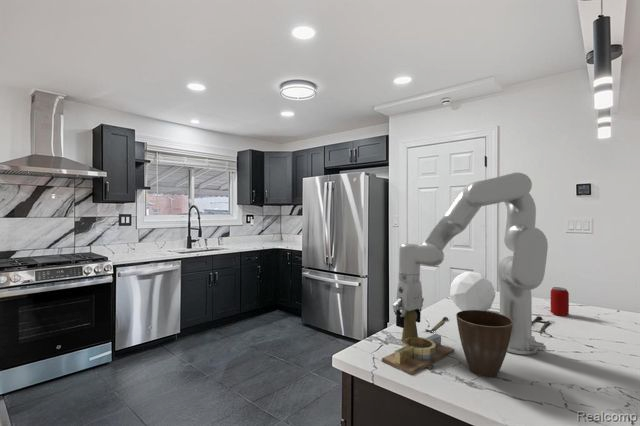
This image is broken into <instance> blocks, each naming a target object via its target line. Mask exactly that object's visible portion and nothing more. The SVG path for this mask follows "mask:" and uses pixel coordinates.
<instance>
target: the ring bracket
mask: <svg viewBox="0 0 640 426" xmlns="http://www.w3.org/2000/svg"><path fill="white" fill-rule="evenodd" d="M441 345H442V335H441V334H438V333H437V334H434V333H433V334H432V335H429V336H427V337H419V336H418V337H409V338H406V339H404V341H402V348H399V349H396V350H394V353H395V363H397V364H399V365H401V364H403V363H405V362H407V361H409V360H411V359H415V360H421V361H422V360H423V361H425V360H432V359H434V358H435V355H436V348H437V347H439V346H441Z"/></svg>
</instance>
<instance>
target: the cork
mask: <svg viewBox="0 0 640 426" xmlns="http://www.w3.org/2000/svg"><path fill="white" fill-rule="evenodd" d="M403 317H404V328H402V335H401V341H402V342H403V341H404V339H406V338H409V337H419V334H418V327H417V322H416V319H417V313H416V312H415V311H413V310H412V311H405V313H404V315H403Z"/></svg>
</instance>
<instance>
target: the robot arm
mask: <svg viewBox="0 0 640 426" xmlns="http://www.w3.org/2000/svg"><path fill="white" fill-rule="evenodd" d="M532 183H533V182H532V180H531V178H530V177H529V176H528V175H527V174H525V173H523V172H512V173H508V174H505V175H500V176H496V177H492V178H488V179H482V180H478V181H477V180H476V181H473V182H470V183H468V184H466V185H465V186H464V188H462V189H461V191H460V192H459V194H458V195H457V196H456V198H455V200H454V201H453V202H452V204H451V205H450V207H449V208H448V210H447V211H446V212H445V214H443V216H442V217H441V219H440V220H439V221H438V223H437V224H436V225H435V227H434V228H433V229H432V230H431V231H430V232H429V234H428V235H427V237H426V238H425V239H424V240H423V242H422V244H420V245H418V244H416V243H402V244H400V246H399V254H398V255H399V256H398V261H399V262H398V283H397V290H396V301H395V302H394V303H393V304H392V309H393V312H394V315H395V317H396V318H395V326H396V327H398V328H401V329H403V328H404V317H403V315H404V313H405V311H412V310H413V311H415V312H416V313H417V319H416V323H421V315H422V314H421V312H422V308H423V306H424V304H423V303H424V300H425V298H424V297H423V287H422V282H421V265H423V266H428V267H437V266H440V265H441V264H442V263H443V261H444V260H445V253H444V251H443V250H444V249H445V248H446V246H447V245H448V243H450V241H452V240H453V239H454V237H456V236H457V235H459V234H461V233H462V232H464V231H465V230H466V229H467V227H468V226H469V224H470V223H471V222H472V220H473V219H474V217H475V216H476V214H477V213H479V211H480V209H481V208H482V207H486V206H491V205H495V204H501V203H504V204H505V207H506V210H507V212H506V222H505V223H506V224H505V231H504V239H503V241H504V245H505V247H506V248H507V249H508V250H509V251H512V252H513V253H512V255H510V256H506V257H504V258H502V259H501V260H500V262H499V263H498V266H497V278H498V279H497V280H498V287H499V288H498V289H499V314H501V315H504V316H506V317H508V318H510V319H511V320H512V321H513V325H512V332H511V337H510V342H509V346H508V349H507V352H506V353H512V354H517V355H526V356H527V355H534V354H537V353H538V351H541V352H544V353H546V350H547V346H546V345H545V343H543V342H539V341H537V340H536V339H535V337H536V336H533V335H532V332H533V331H532V330H533V329H532V328H533V325H532V319H533V318H532V316H533V315H532V313H533V312H532V309H533V308H532V307H533V306H532V304H533V303H532V302H533V301H532V299H533V298H532V297H533V296H532V290H535V289H537V288H538V287H540V285H541V284H542V282H543V281H544V278H545V274H546V266H547V265H546V264H547V257H548V248H549V247H548V246H549V244H548V239H547V237H546V235H545V232H543V231H542V230H541V229H539V228H538V227H536V221H537V220H536V219H537V208H536V203H535V200H534V198H533V197H532V195H531V193H530V192H531V191H532V187H533V184H532Z"/></svg>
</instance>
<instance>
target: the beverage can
mask: <svg viewBox="0 0 640 426" xmlns="http://www.w3.org/2000/svg"><path fill="white" fill-rule="evenodd" d="M569 297H570V293H569V291H568V290H567V288H565V287H557V286H553V287H552V289H551V290H550V313H552V314H553V315H555V316H558V317H566V316H568V315H569V313H570V298H569Z"/></svg>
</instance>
